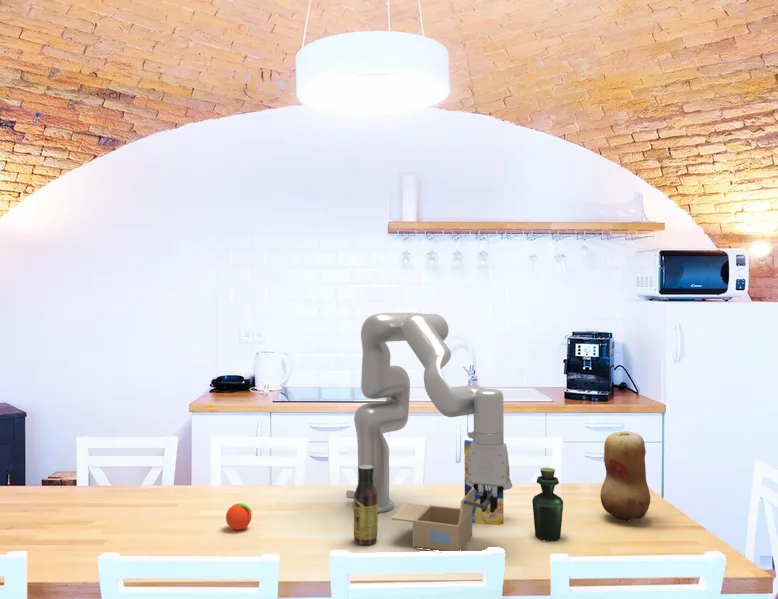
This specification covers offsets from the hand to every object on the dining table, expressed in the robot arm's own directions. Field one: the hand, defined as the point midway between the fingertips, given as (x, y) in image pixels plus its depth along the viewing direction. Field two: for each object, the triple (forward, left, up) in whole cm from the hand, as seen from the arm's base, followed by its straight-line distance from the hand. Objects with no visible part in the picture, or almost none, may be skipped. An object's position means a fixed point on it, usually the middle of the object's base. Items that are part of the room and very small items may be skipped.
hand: (488, 510), depth 171 cm
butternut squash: (+32, +35, -10) cm, 49 cm away
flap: (-6, 0, +1) cm, 6 cm away
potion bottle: (+13, +13, -10) cm, 21 cm away
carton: (-15, 0, -10) cm, 18 cm away
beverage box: (-6, +21, -10) cm, 24 cm away
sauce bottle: (-31, -7, -10) cm, 33 cm away
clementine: (-67, -10, -10) cm, 68 cm away
